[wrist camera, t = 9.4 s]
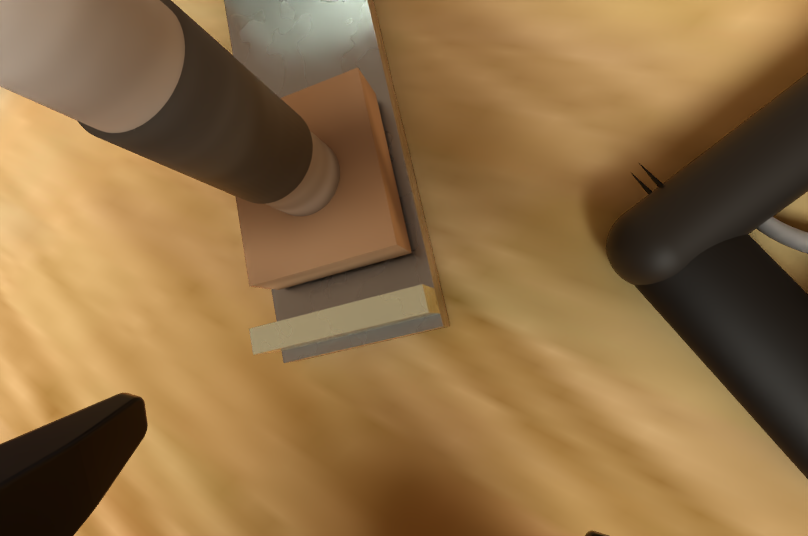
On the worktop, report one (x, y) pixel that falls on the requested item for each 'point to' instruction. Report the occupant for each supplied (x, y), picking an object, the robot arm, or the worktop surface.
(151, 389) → the worktop surface
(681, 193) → the door handle
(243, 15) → the rail
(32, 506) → the robot arm
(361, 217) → the carriage
